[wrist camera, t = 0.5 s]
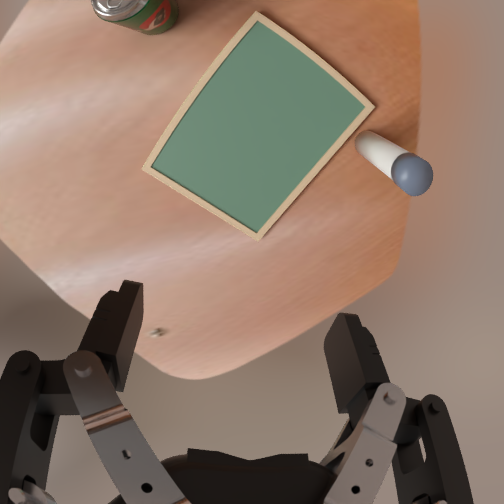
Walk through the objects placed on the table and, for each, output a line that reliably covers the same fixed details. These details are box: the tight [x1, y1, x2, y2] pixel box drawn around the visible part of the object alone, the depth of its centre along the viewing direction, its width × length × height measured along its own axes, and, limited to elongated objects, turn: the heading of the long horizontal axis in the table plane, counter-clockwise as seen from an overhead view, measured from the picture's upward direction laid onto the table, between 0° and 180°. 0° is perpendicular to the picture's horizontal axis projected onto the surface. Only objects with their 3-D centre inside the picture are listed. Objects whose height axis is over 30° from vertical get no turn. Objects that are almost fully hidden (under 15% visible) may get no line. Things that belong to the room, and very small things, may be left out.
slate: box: [141, 11, 375, 241], centre depth 32 cm, size 22×17×1 cm
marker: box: [355, 131, 433, 196], centre depth 28 cm, size 3×3×12 cm
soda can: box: [91, 0, 179, 35], centre depth 19 cm, size 5×5×12 cm
